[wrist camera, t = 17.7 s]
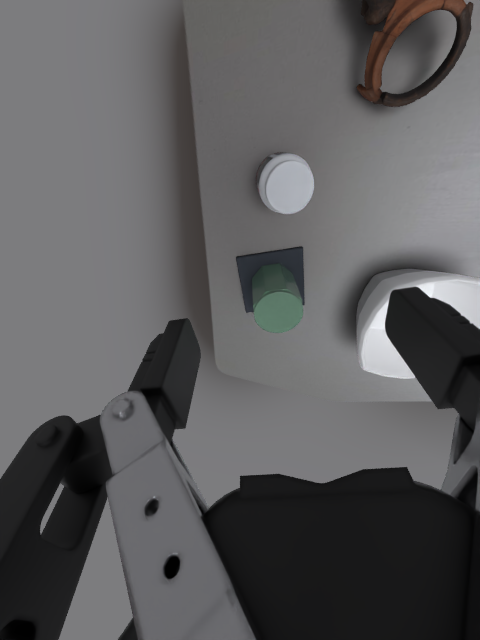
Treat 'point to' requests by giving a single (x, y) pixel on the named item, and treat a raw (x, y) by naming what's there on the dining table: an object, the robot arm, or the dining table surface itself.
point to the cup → (276, 299)
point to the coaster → (254, 262)
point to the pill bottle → (285, 183)
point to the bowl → (372, 342)
